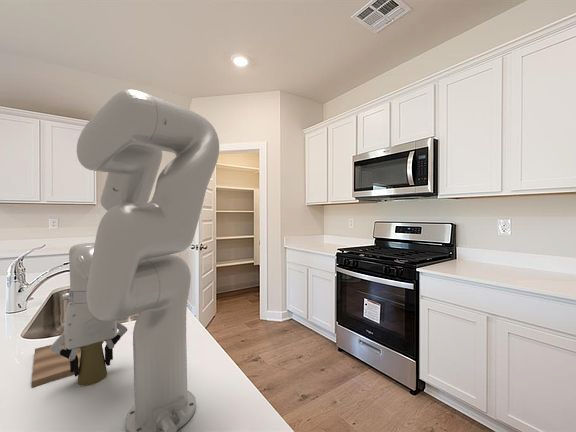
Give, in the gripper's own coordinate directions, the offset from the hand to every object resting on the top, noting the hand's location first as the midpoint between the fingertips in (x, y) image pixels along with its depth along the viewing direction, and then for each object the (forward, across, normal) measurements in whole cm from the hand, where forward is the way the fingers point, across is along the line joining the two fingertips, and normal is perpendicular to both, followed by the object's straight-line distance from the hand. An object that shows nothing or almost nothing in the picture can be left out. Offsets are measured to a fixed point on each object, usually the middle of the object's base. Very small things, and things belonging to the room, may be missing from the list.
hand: (92, 367), depth 67 cm
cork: (+3, 0, 0) cm, 3 cm away
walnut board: (+3, -5, +15) cm, 16 cm away
